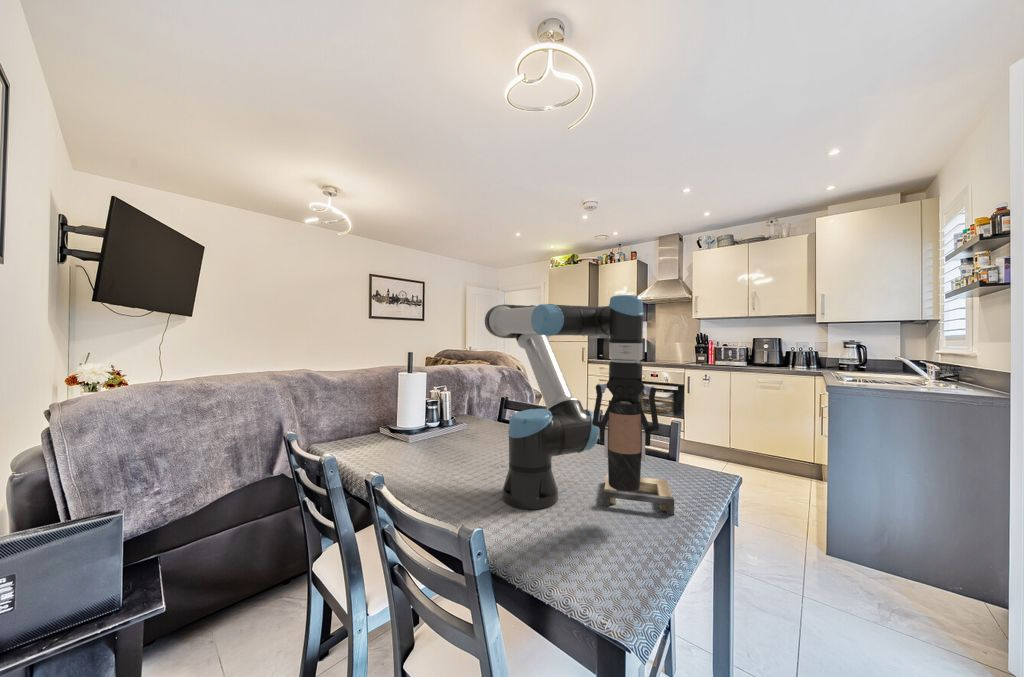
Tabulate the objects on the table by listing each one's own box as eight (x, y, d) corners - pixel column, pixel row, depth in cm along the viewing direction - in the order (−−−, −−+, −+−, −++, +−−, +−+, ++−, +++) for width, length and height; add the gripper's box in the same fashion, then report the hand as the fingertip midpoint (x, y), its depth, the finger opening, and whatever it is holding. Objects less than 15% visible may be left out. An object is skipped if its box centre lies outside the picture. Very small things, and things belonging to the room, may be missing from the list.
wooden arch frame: (603, 505, 97) (603, 491, 97) (606, 481, 113) (606, 469, 113) (674, 514, 92) (674, 499, 92) (667, 488, 108) (667, 475, 108)
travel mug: (643, 493, 84) (644, 405, 83) (608, 490, 85) (609, 403, 85) (638, 480, 91) (639, 399, 91) (606, 477, 93) (607, 397, 92)
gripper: (579, 360, 87) (578, 457, 88) (674, 363, 81) (673, 467, 82) (583, 358, 94) (582, 448, 95) (670, 361, 88) (669, 456, 89)
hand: (624, 457), depth 88 cm, fingers closed on travel mug, 8 cm apart
